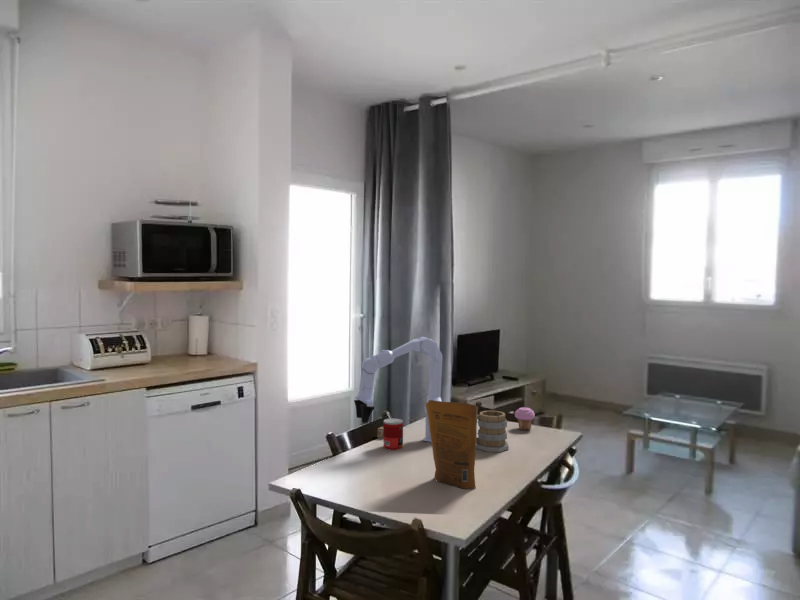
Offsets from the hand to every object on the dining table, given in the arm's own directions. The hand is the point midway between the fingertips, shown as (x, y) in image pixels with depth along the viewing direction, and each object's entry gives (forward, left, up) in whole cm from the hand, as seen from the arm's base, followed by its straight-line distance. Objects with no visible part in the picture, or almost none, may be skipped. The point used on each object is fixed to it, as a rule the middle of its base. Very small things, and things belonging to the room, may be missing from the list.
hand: (361, 420), depth 229 cm
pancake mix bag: (-49, +25, -11) cm, 56 cm away
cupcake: (-55, -54, -11) cm, 78 cm away
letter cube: (-3, -15, -11) cm, 18 cm away
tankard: (-46, -19, -11) cm, 51 cm away
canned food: (-13, -3, -11) cm, 17 cm away
